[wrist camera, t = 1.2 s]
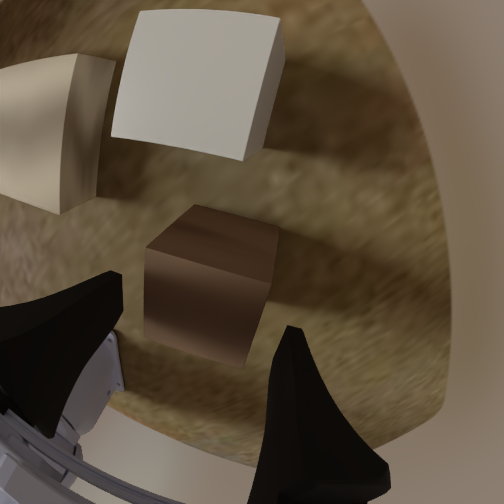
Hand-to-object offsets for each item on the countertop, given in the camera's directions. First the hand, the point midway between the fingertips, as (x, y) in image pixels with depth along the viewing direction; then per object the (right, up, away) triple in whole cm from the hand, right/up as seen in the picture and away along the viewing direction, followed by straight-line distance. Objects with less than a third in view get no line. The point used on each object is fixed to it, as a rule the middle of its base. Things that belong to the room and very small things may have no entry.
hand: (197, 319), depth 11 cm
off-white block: (+1, +11, +2) cm, 11 cm away
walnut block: (+1, +3, +6) cm, 6 cm away
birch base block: (-11, +12, +3) cm, 17 cm away
